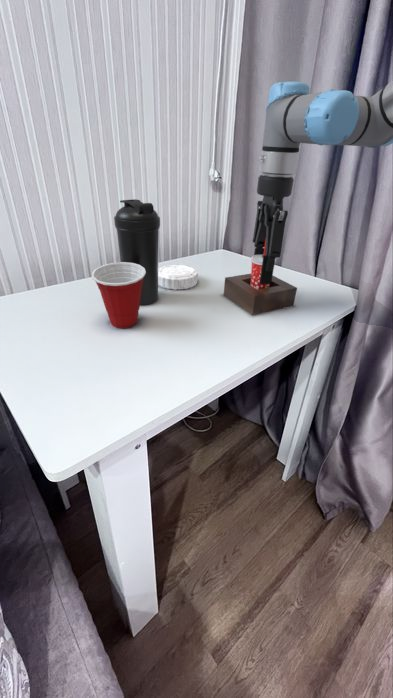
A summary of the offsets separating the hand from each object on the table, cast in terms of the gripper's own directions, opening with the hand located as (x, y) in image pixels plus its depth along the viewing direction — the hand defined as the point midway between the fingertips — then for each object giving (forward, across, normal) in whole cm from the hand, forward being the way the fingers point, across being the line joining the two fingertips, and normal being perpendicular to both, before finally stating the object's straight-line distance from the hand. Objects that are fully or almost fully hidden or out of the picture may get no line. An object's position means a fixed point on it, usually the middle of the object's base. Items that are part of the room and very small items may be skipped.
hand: (261, 278), depth 83 cm
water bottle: (+6, -3, -30) cm, 31 cm away
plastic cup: (+6, +10, -34) cm, 36 cm away
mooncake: (+6, -14, -20) cm, 25 cm away
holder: (+6, 0, 0) cm, 6 cm away
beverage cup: (+4, 0, 0) cm, 4 cm away
